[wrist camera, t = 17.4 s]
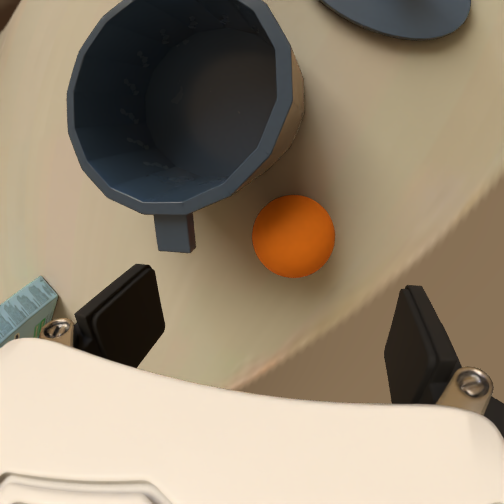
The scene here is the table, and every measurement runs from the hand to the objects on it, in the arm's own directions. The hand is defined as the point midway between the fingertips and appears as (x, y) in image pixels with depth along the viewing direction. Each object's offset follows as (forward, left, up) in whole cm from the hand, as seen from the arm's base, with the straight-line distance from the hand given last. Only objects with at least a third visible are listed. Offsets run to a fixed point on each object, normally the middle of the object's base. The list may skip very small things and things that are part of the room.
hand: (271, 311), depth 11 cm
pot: (+7, -9, -16) cm, 20 cm away
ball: (0, +2, -16) cm, 16 cm away
